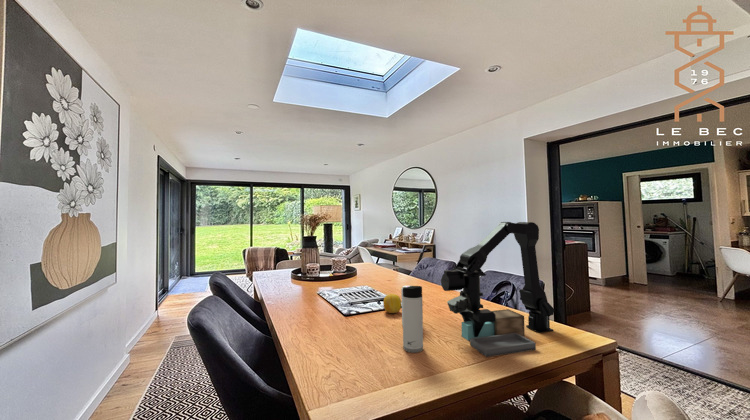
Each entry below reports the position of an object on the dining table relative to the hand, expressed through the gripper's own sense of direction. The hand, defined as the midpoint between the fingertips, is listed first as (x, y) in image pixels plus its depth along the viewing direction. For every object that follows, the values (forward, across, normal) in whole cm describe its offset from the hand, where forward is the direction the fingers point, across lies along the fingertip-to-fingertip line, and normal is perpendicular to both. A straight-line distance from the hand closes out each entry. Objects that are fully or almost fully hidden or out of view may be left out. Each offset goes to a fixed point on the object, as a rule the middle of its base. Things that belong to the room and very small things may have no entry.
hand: (472, 334), depth 104 cm
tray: (+1, +10, +4) cm, 11 cm away
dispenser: (+1, 0, +12) cm, 13 cm away
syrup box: (+1, -18, -16) cm, 24 cm away
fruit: (+1, -34, -18) cm, 38 cm away
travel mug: (+1, +3, -23) cm, 23 cm away
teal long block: (+1, 0, +3) cm, 3 cm away
